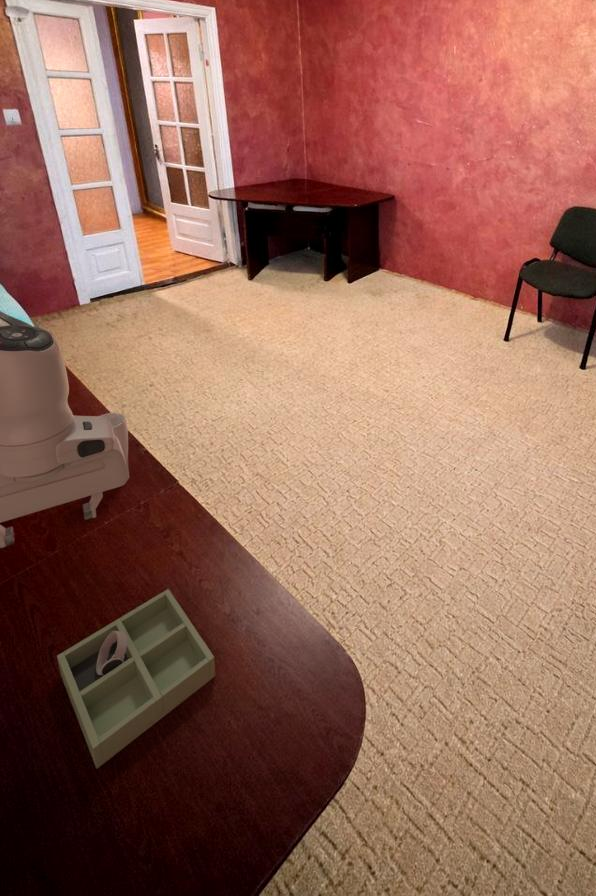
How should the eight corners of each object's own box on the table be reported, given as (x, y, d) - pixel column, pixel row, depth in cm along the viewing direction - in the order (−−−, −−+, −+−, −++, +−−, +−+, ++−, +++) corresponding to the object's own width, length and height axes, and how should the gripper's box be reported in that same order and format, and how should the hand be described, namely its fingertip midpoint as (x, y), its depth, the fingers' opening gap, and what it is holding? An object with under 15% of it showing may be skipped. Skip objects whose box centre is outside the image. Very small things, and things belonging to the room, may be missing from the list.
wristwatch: (90, 684, 66) (113, 653, 66) (91, 650, 70) (113, 622, 70) (111, 684, 67) (133, 655, 68) (111, 651, 71) (132, 624, 72)
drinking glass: (95, 476, 107) (86, 418, 103) (129, 465, 111) (122, 409, 107) (101, 494, 102) (92, 433, 98) (136, 481, 107) (129, 423, 102)
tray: (96, 769, 59) (92, 748, 58) (60, 674, 69) (56, 655, 67) (215, 676, 70) (214, 657, 69) (170, 605, 80) (168, 588, 78)
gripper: (-77, 486, 55) (-52, 579, 59) (126, 435, 67) (134, 516, 71) (-68, 456, 60) (-46, 544, 64) (119, 414, 72) (128, 490, 76)
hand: (50, 529), depth 68 cm, fingers open, 8 cm apart
